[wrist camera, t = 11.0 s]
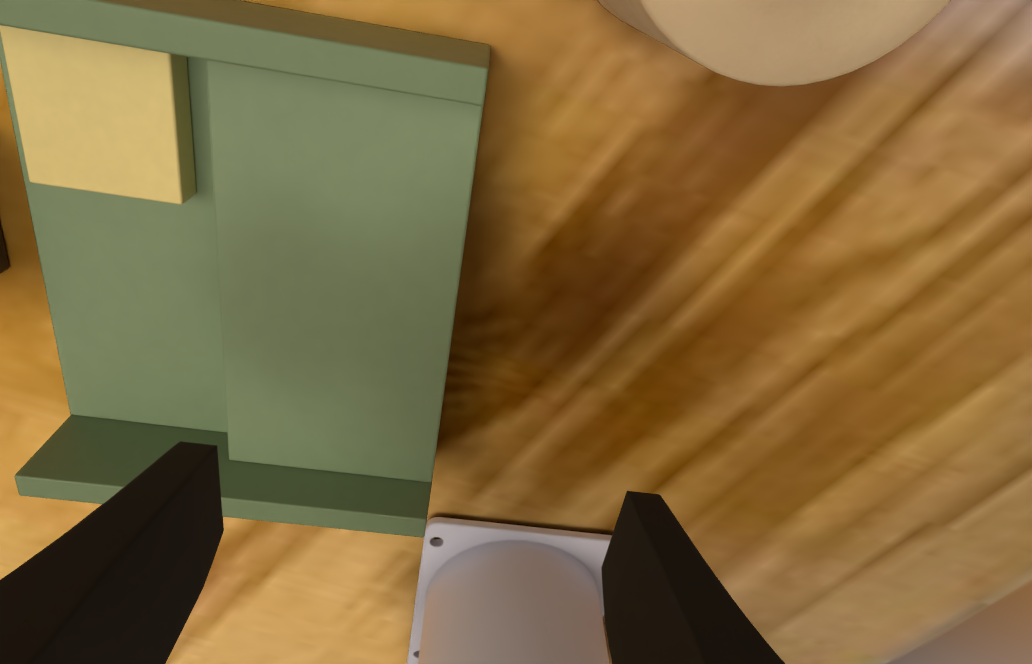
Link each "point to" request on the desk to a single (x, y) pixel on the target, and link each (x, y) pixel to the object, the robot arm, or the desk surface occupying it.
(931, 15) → the candle
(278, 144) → the shelf
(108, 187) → the note pad
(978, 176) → the desk surface
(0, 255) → the holder
